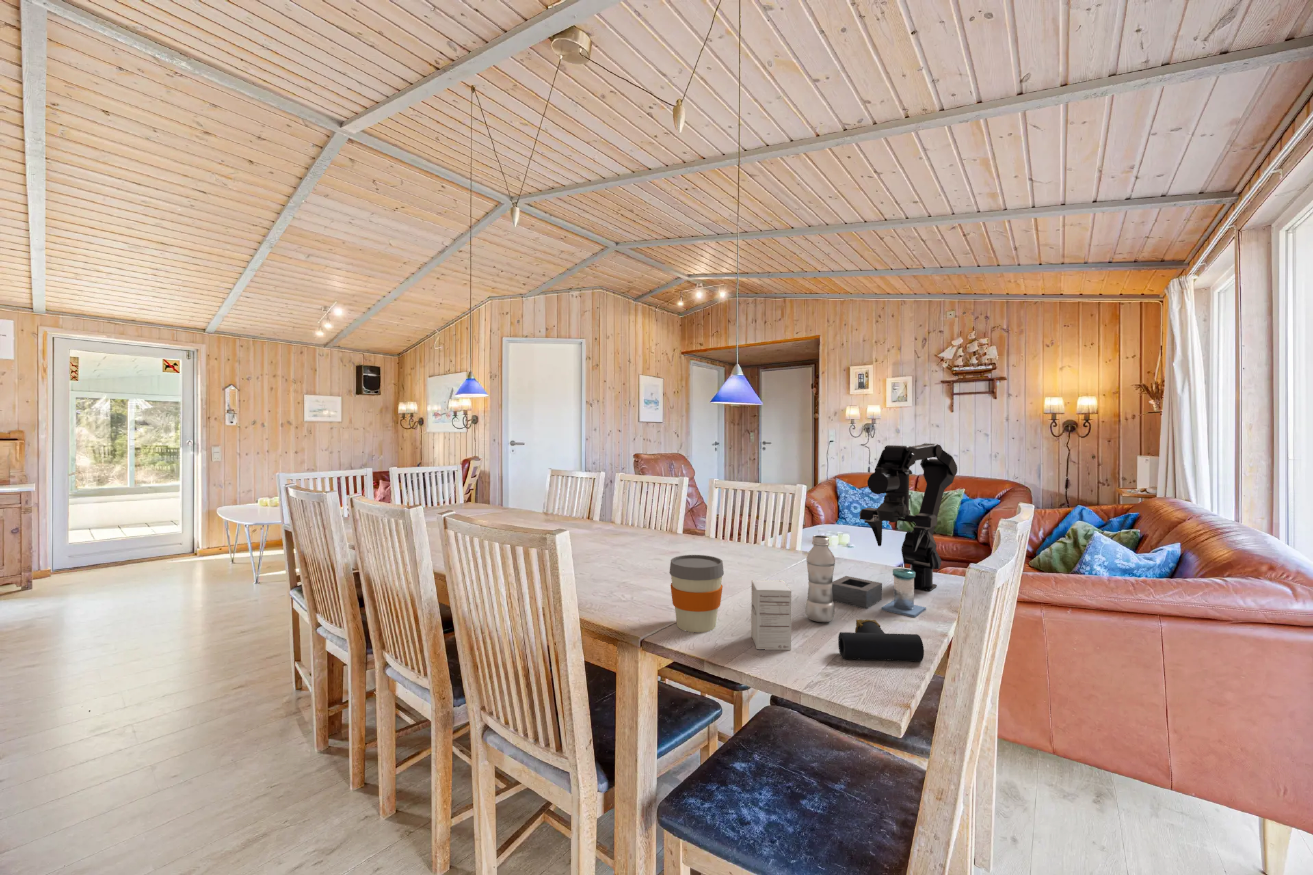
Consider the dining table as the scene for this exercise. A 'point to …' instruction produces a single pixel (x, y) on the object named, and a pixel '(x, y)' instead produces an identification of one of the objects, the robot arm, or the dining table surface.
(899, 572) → the green lidded jar
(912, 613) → the mat
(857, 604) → the housing
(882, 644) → the pipe connector
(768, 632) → the supplement box
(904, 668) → the dining table surface
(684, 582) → the reusable coffee cup
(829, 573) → the plastic bottle
